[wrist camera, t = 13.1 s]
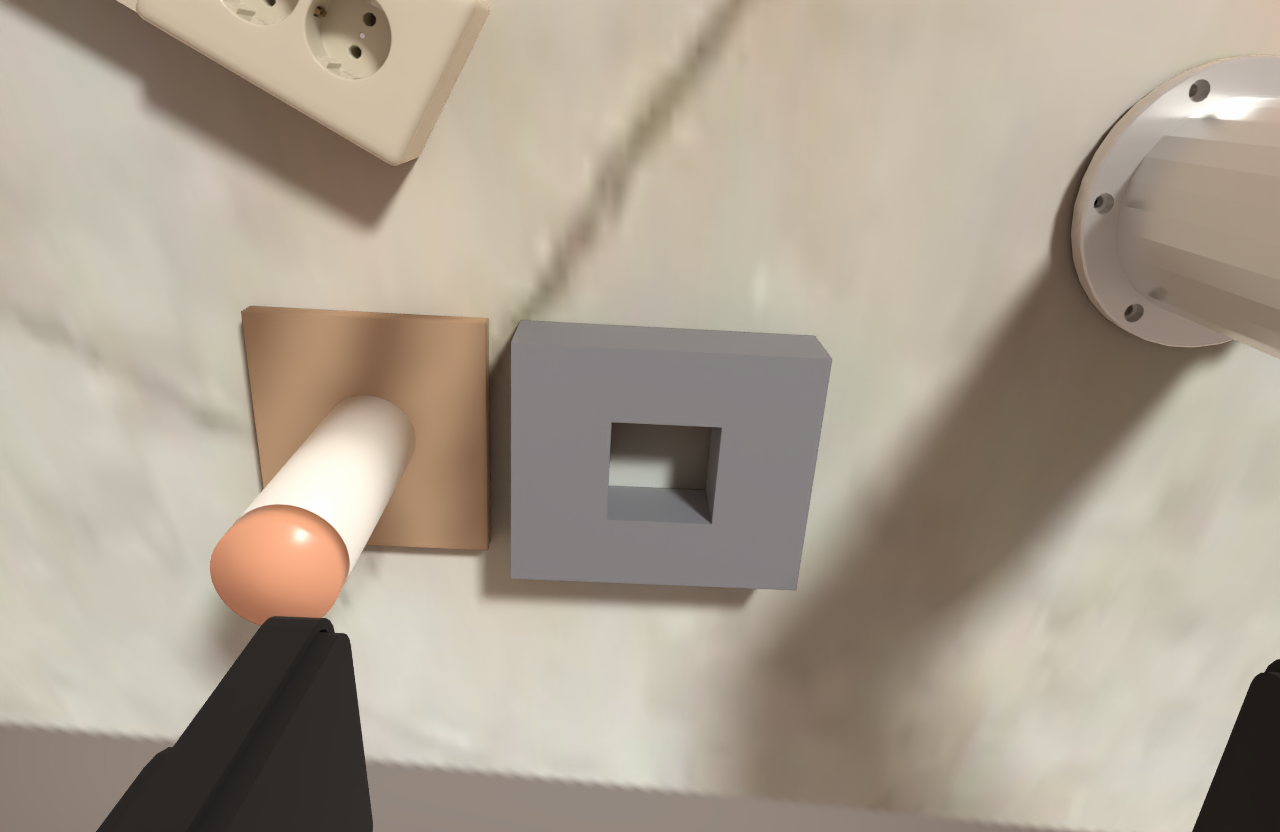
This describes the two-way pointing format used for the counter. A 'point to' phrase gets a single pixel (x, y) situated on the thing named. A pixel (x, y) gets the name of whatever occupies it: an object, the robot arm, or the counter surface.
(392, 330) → the board
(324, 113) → the electrical outlet
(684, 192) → the counter surface
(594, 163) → the counter surface
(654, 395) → the socket block
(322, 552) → the plug
